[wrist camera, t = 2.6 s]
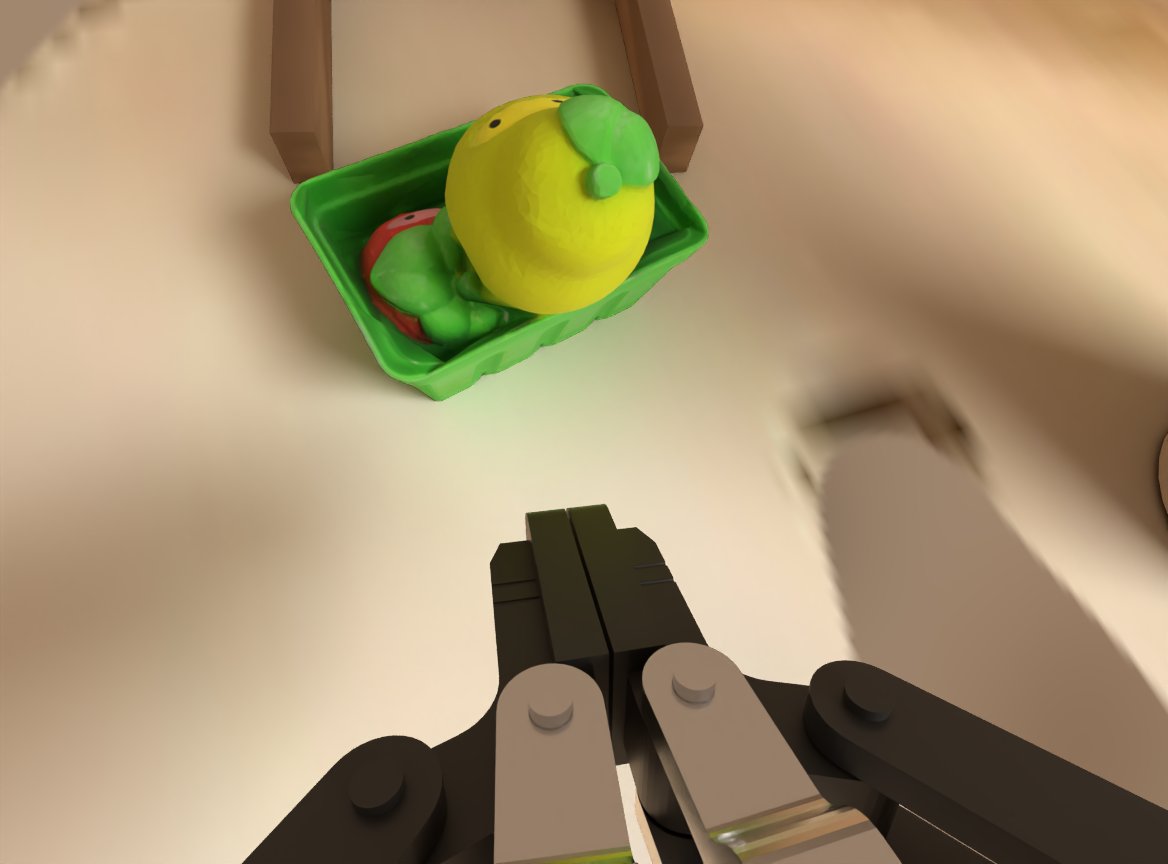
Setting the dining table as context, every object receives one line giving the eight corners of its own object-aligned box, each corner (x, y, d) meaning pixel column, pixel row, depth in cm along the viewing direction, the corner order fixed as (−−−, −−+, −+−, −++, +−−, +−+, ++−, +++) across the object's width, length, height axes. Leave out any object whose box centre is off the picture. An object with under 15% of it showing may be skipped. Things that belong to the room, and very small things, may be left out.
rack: (634, -37, 30) (652, -133, 26) (686, 171, 26) (715, 93, 22) (297, -48, 28) (263, -155, 24) (294, 182, 23) (252, 96, 20)
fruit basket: (579, 178, 25) (629, -150, 15) (696, 338, 23) (850, 92, 13) (327, 284, 22) (161, -37, 12) (438, 478, 20) (359, 307, 10)
